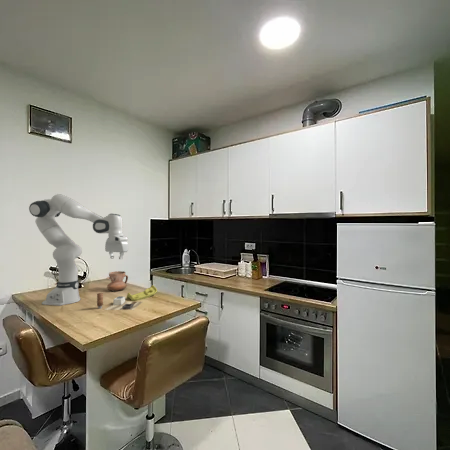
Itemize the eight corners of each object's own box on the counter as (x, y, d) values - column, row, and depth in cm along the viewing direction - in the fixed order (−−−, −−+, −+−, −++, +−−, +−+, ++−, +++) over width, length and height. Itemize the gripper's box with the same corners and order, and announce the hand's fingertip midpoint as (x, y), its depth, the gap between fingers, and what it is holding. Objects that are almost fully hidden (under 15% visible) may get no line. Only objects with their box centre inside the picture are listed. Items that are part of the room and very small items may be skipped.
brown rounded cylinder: (96, 310, 150) (96, 294, 150) (98, 309, 154) (98, 293, 154) (101, 310, 150) (101, 294, 150) (103, 309, 154) (103, 293, 154)
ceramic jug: (110, 293, 189) (111, 275, 189) (102, 290, 198) (102, 272, 198) (132, 289, 202) (132, 272, 203) (123, 286, 212) (123, 269, 212)
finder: (121, 304, 158) (121, 298, 158) (113, 304, 158) (113, 298, 158) (125, 302, 164) (125, 296, 164) (117, 302, 164) (117, 296, 164)
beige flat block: (104, 311, 149) (103, 307, 149) (116, 303, 165) (116, 299, 165) (133, 311, 149) (133, 307, 149) (142, 303, 165) (142, 299, 165)
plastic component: (134, 300, 165) (127, 291, 170) (132, 308, 167) (125, 299, 173) (159, 291, 180) (152, 283, 186) (157, 299, 183) (150, 291, 188)
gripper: (102, 238, 167) (102, 258, 167) (120, 238, 156) (121, 260, 156) (111, 237, 172) (111, 257, 172) (129, 237, 161) (130, 258, 161)
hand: (116, 258), depth 164 cm, fingers open, 8 cm apart
